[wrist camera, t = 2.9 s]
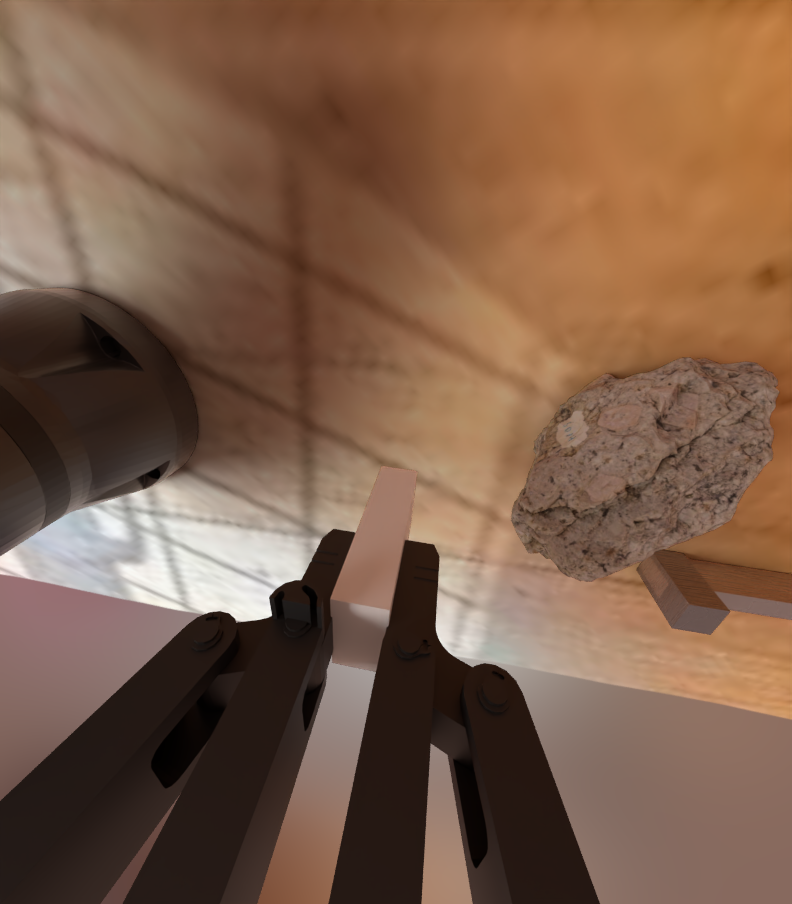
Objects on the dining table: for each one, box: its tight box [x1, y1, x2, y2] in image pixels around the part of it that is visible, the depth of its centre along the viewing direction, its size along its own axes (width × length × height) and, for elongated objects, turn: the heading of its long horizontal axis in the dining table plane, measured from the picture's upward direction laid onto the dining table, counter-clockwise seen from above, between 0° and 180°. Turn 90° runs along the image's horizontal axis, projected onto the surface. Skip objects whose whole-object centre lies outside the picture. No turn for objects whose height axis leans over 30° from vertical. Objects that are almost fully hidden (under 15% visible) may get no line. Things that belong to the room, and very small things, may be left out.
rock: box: [511, 358, 780, 581], centre depth 18 cm, size 14×10×8 cm
